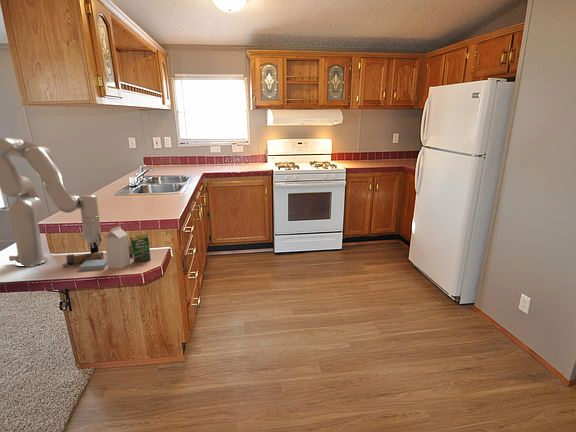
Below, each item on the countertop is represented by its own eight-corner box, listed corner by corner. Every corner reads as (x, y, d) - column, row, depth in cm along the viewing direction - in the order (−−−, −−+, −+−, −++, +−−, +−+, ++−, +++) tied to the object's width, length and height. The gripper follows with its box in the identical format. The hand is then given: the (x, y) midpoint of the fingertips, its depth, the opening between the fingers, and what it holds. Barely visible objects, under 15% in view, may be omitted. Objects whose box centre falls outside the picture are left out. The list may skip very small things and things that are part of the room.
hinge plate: (60, 267, 159) (60, 266, 159) (65, 262, 165) (65, 262, 165) (76, 266, 160) (76, 265, 160) (81, 261, 167) (81, 261, 167)
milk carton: (130, 264, 164) (127, 226, 160) (122, 269, 157) (118, 229, 153) (116, 263, 165) (113, 225, 161) (107, 268, 158) (103, 229, 154)
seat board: (79, 271, 154) (79, 266, 154) (86, 264, 163) (85, 260, 162) (103, 269, 157) (103, 265, 156) (108, 262, 165) (108, 259, 165)
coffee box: (133, 263, 165) (131, 237, 163) (132, 261, 167) (130, 236, 165) (150, 260, 170) (148, 235, 167) (149, 258, 172) (147, 233, 170)
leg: (67, 265, 161) (66, 256, 160) (66, 263, 163) (65, 255, 162) (103, 258, 171) (103, 250, 170) (102, 256, 173) (101, 249, 172)
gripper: (75, 219, 169) (79, 254, 173) (91, 222, 162) (95, 259, 165) (90, 216, 176) (94, 250, 179) (106, 220, 168) (110, 255, 171)
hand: (95, 254), depth 172 cm, fingers closed
